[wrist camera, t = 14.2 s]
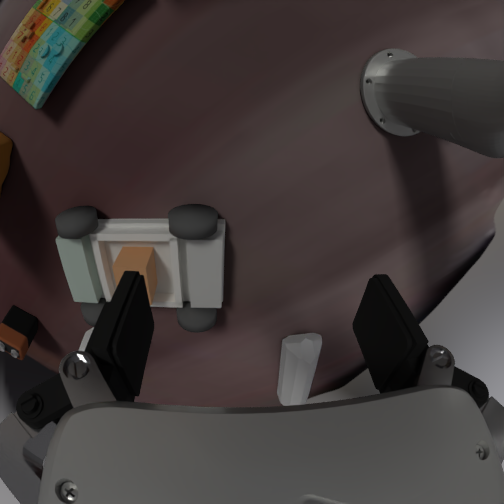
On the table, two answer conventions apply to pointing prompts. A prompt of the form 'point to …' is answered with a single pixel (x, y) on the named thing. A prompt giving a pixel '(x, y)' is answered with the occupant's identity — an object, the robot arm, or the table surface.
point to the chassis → (165, 252)
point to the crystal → (298, 367)
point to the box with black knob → (137, 266)
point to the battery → (17, 332)
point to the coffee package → (4, 157)
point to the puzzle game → (50, 44)
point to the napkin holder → (85, 340)
